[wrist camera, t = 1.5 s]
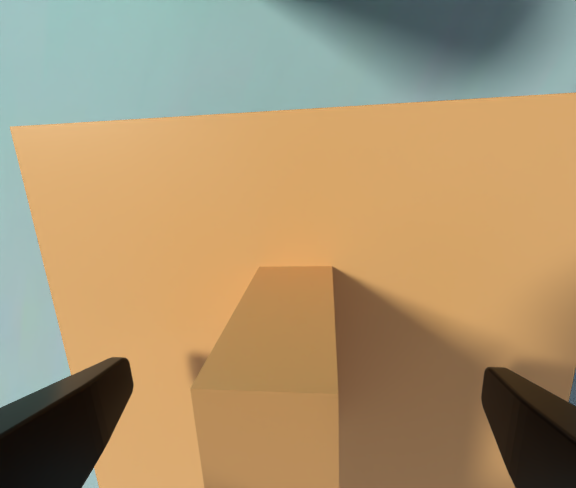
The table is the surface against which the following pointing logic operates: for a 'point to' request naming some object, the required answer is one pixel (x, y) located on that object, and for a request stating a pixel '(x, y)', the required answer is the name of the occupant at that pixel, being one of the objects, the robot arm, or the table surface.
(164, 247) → the lid
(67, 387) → the robot arm
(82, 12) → the table surface
